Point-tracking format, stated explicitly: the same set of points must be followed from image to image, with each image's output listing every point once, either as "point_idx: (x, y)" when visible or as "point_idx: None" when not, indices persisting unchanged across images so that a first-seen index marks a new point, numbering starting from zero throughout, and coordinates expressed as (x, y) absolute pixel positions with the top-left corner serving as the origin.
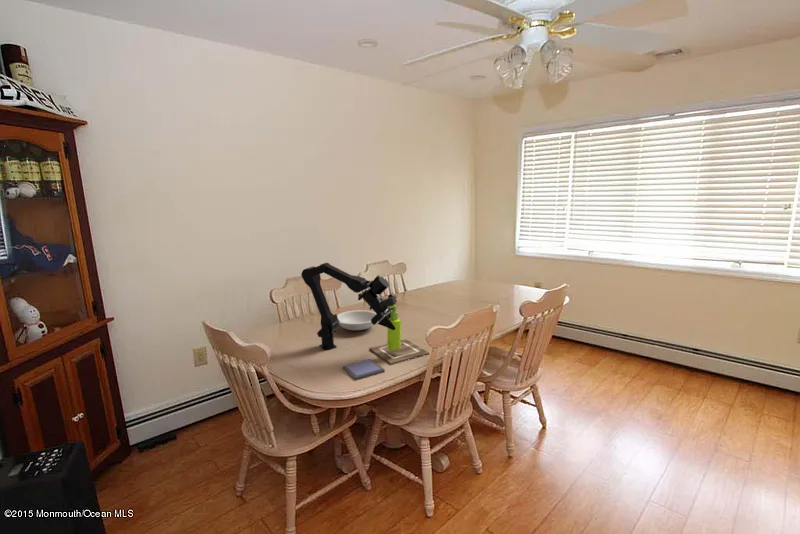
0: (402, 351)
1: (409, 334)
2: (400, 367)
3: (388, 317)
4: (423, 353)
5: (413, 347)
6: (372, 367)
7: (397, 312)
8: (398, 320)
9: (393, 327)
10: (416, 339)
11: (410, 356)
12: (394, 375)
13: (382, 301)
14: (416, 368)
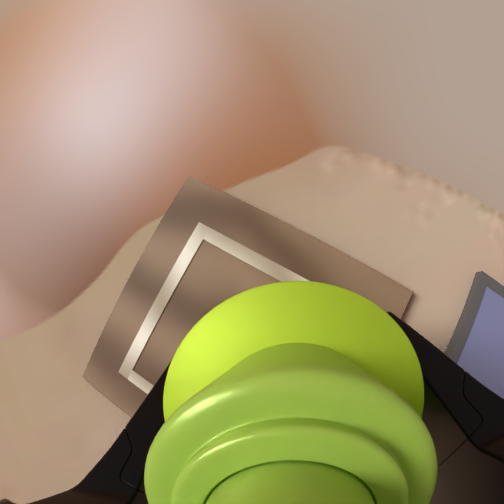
0: None
1: (31, 381)
2: (408, 231)
3: (500, 449)
4: (213, 194)
5: (159, 285)
6: (491, 334)
7: (298, 380)
8: (316, 308)
9: (408, 333)
10: (57, 328)
11: (284, 238)
12: (475, 216)
13: None
14: (373, 159)
